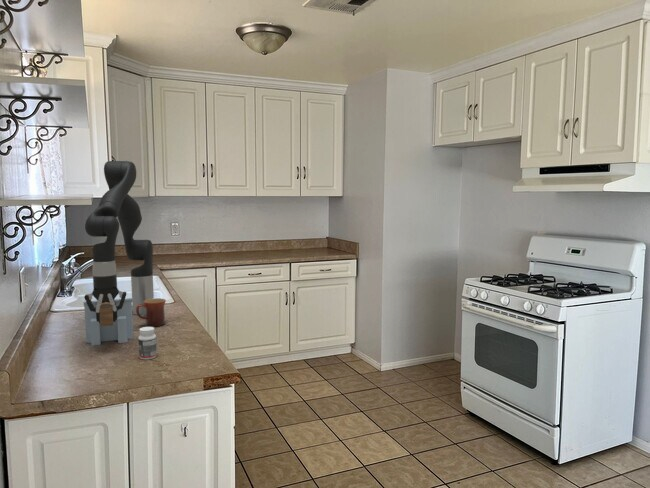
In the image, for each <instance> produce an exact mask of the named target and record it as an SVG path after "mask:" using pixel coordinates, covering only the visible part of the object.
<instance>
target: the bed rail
mask: <svg viewBox="0 0 650 488" xmlns="http://www.w3.org/2000/svg"><path fill="white" fill-rule="evenodd" d="M99 314H100V327H101V326H113V307H112V306H111V303H108V302H105V303H102V304H101V307H100V309H99Z"/></svg>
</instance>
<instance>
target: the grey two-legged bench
mask: <svg viewBox="0 0 650 488" xmlns="http://www.w3.org/2000/svg"><path fill="white" fill-rule="evenodd" d="M114 300H115V303H116V306H118V305H119V304H120V300H121V298H115V299H114ZM91 301H92V304H93V306H94V307H96V308H97V303H98V300H91ZM83 307H84V322H85V324H84V325H85V327H84V328H85V341H86V344H90V345H91V347H93V346H101V345H102V342H110V341H117V343H118V344H122V343H124V344H125V343H128V340H132V339H134V329H133V328H134V327H133V326H134V325H133V310H132V297H130V298H128V297H127V298H125V301H124V304H123V307H122V309H119V310H118V311H117V320H115V322H113V326H101V327H100V323H99V321H98V322H97V320H96V312H93V311H90V309H89V307H88V305H87V303H86V300H84V301H83Z"/></svg>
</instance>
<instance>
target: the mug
mask: <svg viewBox="0 0 650 488" xmlns="http://www.w3.org/2000/svg"><path fill="white" fill-rule="evenodd" d="M166 301H167V299H165V298H154V299H148V300H145V301H143V303H144V304H140V305H138V306H137V307H136V313H137V315H136V316H137V317H138V318H139V319H141V320H145V322H146V325H147V327H154V328H155V327H161V326H163V325H164V324H165V321H166V320H165V319H166V317H165V316H166V315H165V305H166ZM141 306H143V307H145V309H146V315H140V314H139V307H141Z"/></svg>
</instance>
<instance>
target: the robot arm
mask: <svg viewBox="0 0 650 488" xmlns="http://www.w3.org/2000/svg"><path fill="white" fill-rule="evenodd" d="M103 175H104V179H105V181H106V184H107V187H108V189H109V190H107V191H106V192H105V193H104V194H103V195H102V197H101V199H100V201H99V202H98V203H99V204H98V206H97V208H95V209H94V210H93V212H91V213H90V214H89V216H88V217H87V219H86V220H85V224H84V229H85V232H86V233H87V235H88V236H90V237H95V238H98V237H106V239H105V241H104V242H99V243H96V244H94V245H93V246H92V273H91V274H92V281H93V282H92V284H93V290H92V292H90V293H85V294H84V297H83V298H84V301H86V303H87V305H88V307H89V309H90V311H93V312H96V320H97V322H98V321H99V323H100V314H99V309H100V307H101V304H102V303H105V302H108V303H111V306H112V307H113V322H115V320H117V311H118V310H119V309H122V307H123V304H124V301H125V299H126V296H127V291H120V290H119V288H118V277H117V275H118V274H117V273H118V272H117V263H116V254H115V253H116V252H115V249H116V242H117V238H118V233H119V231H120V229H121V234H122V236H123V242H124V248H125V253H126V256H127V258H128V260H130V261H143V263H142V264H141V265H139V266H136V267H134V268H132V269H131V270H130V279H131V280H130V283H131V298H132V315H136V316H138V315H137V313H136V307H137V306H138V305H140V304H144V303H143V301H145V300H148V299H155V298H154V297H155V295H154V293H155V292H154V275H153V274H154V273H153V271H154V270H153V269H154V268H153V267H154V266H153V265H154V264H153V263H154V261H153V259H154V258H153V256H154V255H153V254H154V252H153V251H154V250H153V249H154V247H153V242H152V240H151V239H134V235H135V233H136V231H137V230H138V228H140V225H141V224H142V218H143V217H142V213H141V208H140V206H139V204H138V202H137V201H136V200H135V199H134V198H133V197H131V195H129V192H130V191H131V188H133V186H134V184H135V183H136V178H137V168H136V165H135V163H134V162H132V161H129V160H108V161H106V162H105V163H104V166H103ZM118 295H119V299H121V300H120V304H119V305H118V306H116V303H115V300H114V299H117V296H118ZM93 297H94V298H95V300H96V301H98V303H97V308H96V307H94V306H93V304H92V301H93ZM139 314H140V315H141V316H145V315H146V309H145V307H143V306H141V307H139Z"/></svg>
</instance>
